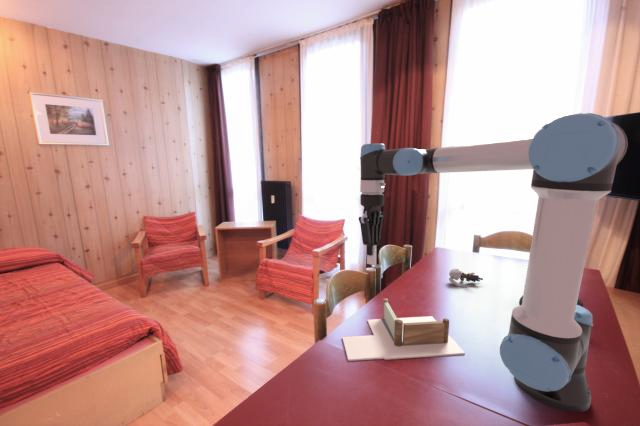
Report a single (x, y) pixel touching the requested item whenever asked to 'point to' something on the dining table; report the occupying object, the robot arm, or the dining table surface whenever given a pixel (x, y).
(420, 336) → the fence fixed
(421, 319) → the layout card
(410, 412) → the dining table surface
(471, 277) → the toy
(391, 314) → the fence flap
